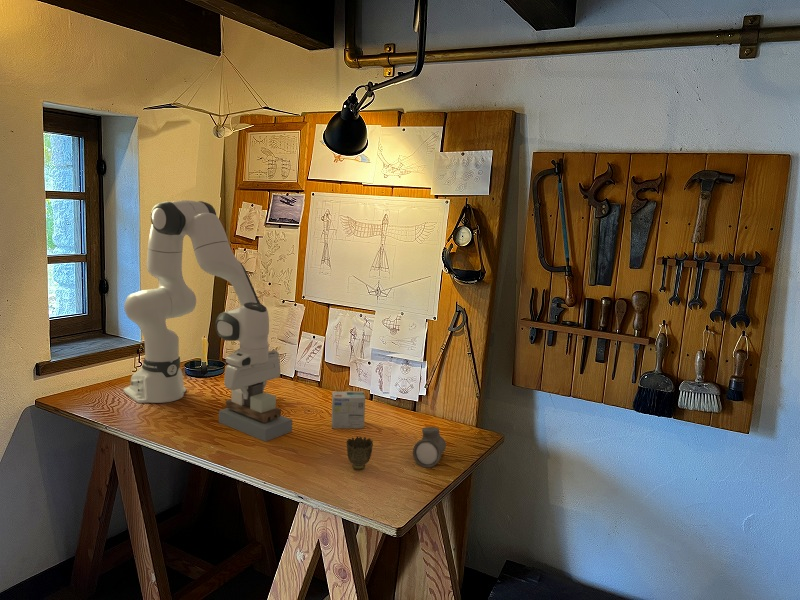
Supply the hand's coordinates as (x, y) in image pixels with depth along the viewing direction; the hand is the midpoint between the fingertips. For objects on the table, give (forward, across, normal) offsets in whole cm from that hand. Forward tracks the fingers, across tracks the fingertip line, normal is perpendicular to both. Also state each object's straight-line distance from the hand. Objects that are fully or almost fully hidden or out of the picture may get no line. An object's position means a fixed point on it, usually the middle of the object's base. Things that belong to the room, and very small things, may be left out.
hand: (253, 396), depth 198 cm
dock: (+10, 0, +1) cm, 10 cm away
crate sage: (+3, 0, +4) cm, 5 cm away
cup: (+10, 0, +44) cm, 45 cm away
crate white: (+3, 0, -4) cm, 5 cm away
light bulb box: (+10, -22, +21) cm, 32 cm away
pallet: (+5, 0, 0) cm, 5 cm away
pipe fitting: (+10, -19, +56) cm, 60 cm away
